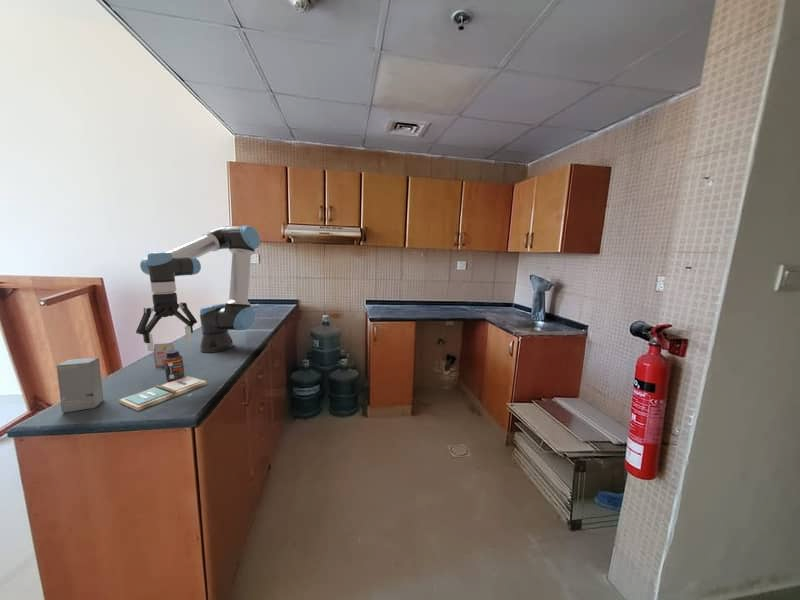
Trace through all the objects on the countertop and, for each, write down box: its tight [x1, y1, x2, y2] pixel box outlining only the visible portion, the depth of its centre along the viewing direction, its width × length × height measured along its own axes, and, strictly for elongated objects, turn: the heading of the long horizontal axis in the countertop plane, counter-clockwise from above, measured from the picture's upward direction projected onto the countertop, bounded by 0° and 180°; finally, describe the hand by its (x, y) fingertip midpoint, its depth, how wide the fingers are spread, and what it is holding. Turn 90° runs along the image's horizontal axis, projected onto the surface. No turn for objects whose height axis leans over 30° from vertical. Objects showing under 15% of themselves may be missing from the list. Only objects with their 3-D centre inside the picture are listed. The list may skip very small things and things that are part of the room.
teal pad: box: [124, 387, 169, 405], centre depth 106 cm, size 9×9×1 cm
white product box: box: [153, 342, 176, 368], centre depth 138 cm, size 4×7×10 cm, turn 107°
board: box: [118, 375, 208, 412], centre depth 110 cm, size 22×12×2 cm, turn 153°
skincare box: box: [56, 357, 104, 414], centre depth 101 cm, size 8×7×16 cm
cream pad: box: [161, 376, 201, 391], centre depth 115 cm, size 9×9×1 cm
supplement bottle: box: [164, 349, 185, 382], centre depth 123 cm, size 6×6×11 cm
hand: (171, 345), depth 121 cm, fingers open, 13 cm apart
